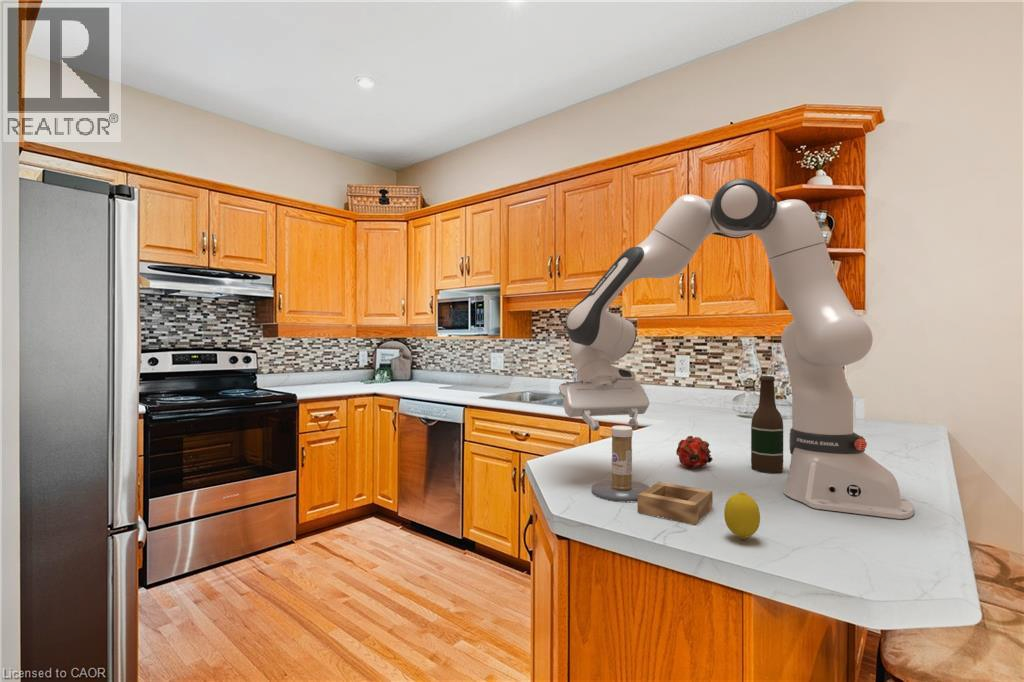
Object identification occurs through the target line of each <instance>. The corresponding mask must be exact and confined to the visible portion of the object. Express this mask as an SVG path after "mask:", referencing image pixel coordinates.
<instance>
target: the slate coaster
mask: <svg viewBox="0 0 1024 682" xmlns="http://www.w3.org/2000/svg"><path fill="white" fill-rule="evenodd" d="M611 484H612V479H606V480H600V481H597V482H595V483H593V484H591V493H592V495H593V496H595V495H596V496H595V497H596V498H599V497H600V499H602V498H603V499H602V500H605V499H608V500H607V501H610V500H613V501H612V502H617V501H625V502H624V503H631V502H630V501H638V494H639V493H641V492H643V491H644V490H646V489H648V488H649V487H650V485H648V484H645V483H642V482H638V481H633V480H632V488H631V489H629V490H617V489H614V488H612V486H611ZM627 501H629V502H627Z"/></svg>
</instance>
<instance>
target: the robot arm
mask: <svg viewBox="0 0 1024 682" xmlns="http://www.w3.org/2000/svg"><path fill="white" fill-rule="evenodd" d="M710 235H715V236H720V237H725V238H729V239H744V238H747V237H749V236H750V235H755V236H757V237H758V238H759V239H760V241H761V243H762V244H763V248H764V250H765V252H766V257H767V260H768V264H769V268H770V271H771V274H772V277H773V282H774V284H775V288H776V292H777V294H778V296H779V297H780V298H781V300H782V301H783V302H784V303H785V305H786V307H787V309H788V310H789V312H790V314H791V316H792V318H793V320H791V321H790V323H788V324H787V325H786V326H785V327H784V329H783V331H782V333H781V338H780V339H781V346H782V348H783V350H784V353H785V358H786V366H787V370H788V375H789V376H788V377H789V380H790V386H791V396H792V406H791V407H792V408H791V409H792V418H791V419H792V420H791V421H792V427H791V428H790V429H789V430H790V431H789V438H788V439H789V442H788V443H789V451H790V452H789V453H790V455H791V456H790V463H789V464H790V465H789V471H788V476H787V480H786V483H785V486H784V490H783V494H784V495H786V496H787V497H788V498H791V499H792V500H795V501H798V502H801V503H803V504H805V505H806V506H808V507H810V508H813V509H817V510H825V511H834V512H840V513H841V512H842V513H848V514H850V513H851V514H857V515H865V516H873V517H874V516H875V517H879V518H881V517H882V518H889V519H898V520H903V519H908V518H911V517H912V516H913V515H914V514H915V508H914V504H913V502H912V501H910V500H909V499H907V498H906V497H904V496H901V492H900V487H899V484H898V481H897V479H896V477H895V476H894V474H893V473H892V472H891V471H890V470H888V468H886V467H885V466H883V465H882V464H880V463H879V462H878V461H876V460H875V459H874V458H872V457H871V456H870V455H868V454H867V453H866V452H865V451H866V448H867V446H868V443H867V441H866V439H865V438H864V436H863V435H861V436H860V434H857V433H856V432H854V396H853V392H852V390H851V388H850V387H849V385H848V382H847V379H846V375H845V371H844V366H849V365H851V364H855V363H857V362H859V361H861V360H862V359H864V358H865V357H866V356H867V355H868V354H869V352H870V350H871V348H872V346H873V339H874V338H873V334H872V333H873V332H872V330H871V328H870V326H869V325H868V324H867V322H865V320H863V319H862V318H861V317H860V316H859V315H858V313H856V310H855V309H854V307H853V305H852V304H851V302H850V301H849V299H848V297H847V295H846V294H845V292H844V290H843V288H842V287H841V285H840V283H839V280H838V278H837V275H836V273H835V270H834V266H833V263H832V260H831V256H830V254H829V253H830V252H829V250H828V247H827V243H826V240H825V237H824V234H823V232H822V229H821V227H820V224H819V222H818V220H817V218H816V215H815V214H814V212H813V211H812V209H811V207H810V206H809V204H807V202H805V201H804V200H801V199H792V198H791V199H785V200H781V201H778V199H777V198H776V197H775V196H774V195H773V194H772V193H770V192H769V191H767V190H766V188H764V187H763V186H762V185H761V184H759V183H758V182H757V181H754V180H752V179H749V178H736V179H732V180H730V181H728V182H726V183H724V184H723V185H721V187H720V188H719V189H718V190H717V191H716V193H715V194H714V196H713V198H711V199H707V198H703V197H701V196H700V195H696V194H690V193H689V194H688V193H687V194H683V195H681V196H679V197H678V198H677V199H676V200H675V201H674V202H673V203H672V204H671V206H669V208H667V210H666V211H665V212H664V214H663V215H662V216H661V217H660V219H659V220H658V221H657V223H656V224H655V226H654V227H653V229H652V230H651V232H650V233H649V235H648V236H647V237H646V238H645V239H644V240H643V241H641V242H640V243H639V244H637V245H636V246H633V247H632V246H631V247H629V248H628V249H626V250H625V251H624V252H622V254H621V255H620V256H618V257H617V259H616V260H615V261H614V262H613V264H612V265H610V267H609V268H608V269H607V271H606V272H605V273H604V274H603V275H602V277H601V278H600V279H598V281H597V283H596V284H595V285H594V286H593V288H592V289H590V291H589V292H588V293H587V294H586V296H584V298H583V299H581V300H580V301H579V302H578V303H577V304H575V305H574V306H573V308H572V309H570V310H569V313H568V314H567V316H566V319H565V328H566V331H567V335H568V337H569V339H568V350H569V355H570V359H571V362H572V364H573V367H574V368H575V369H576V375H577V376H576V377H577V379H578V381H564V382H563V383H561V384H560V385H559V387H558V388H559V389H558V390H559V394H560V395H561V396H562V400H563V401H562V402H563V408H564V413H565V414H566V415H567V417H570V418H582V421H584V422H585V423H586V424H587V425H588V426H589V429H590V430H591V431H592V432H595V431H599V429H600V424H599V421H598V420H597V419H594V418H593V417H599V416H600V417H604V416H624V415H625V416H626V415H628V417H629V421H628V423H627V426H629V427H632V430H633V429H634V430H635V429H638V427H639V421H638V415H643V414H645V413H646V412H647V410H648V408H649V407H650V406H649V405H650V400H649V397H648V395H647V392H646V391H645V389H644V388H643V386H642V384H641V383H640V382H639V381H637V380H636V378H637V376H636V373H635V372H634V371H633V370H628V369H624V368H619V367H617V366H614V365H612V364H613V363H616V362H617V361H618V360H620V359H621V358H624V356H625V355H627V354H628V353H630V352H631V351H632V349H633V348H634V346H635V344H636V340H637V330H636V326H635V325H634V323H633V322H632V321H630V320H628V319H626V318H624V317H622V316H620V315H617V314H614V313H612V312H611V311H608V308H609V307H610V306H611V304H612V303H613V302H614V301H615V300H616V298H617V297H618V296H619V295H620V294H621V293H622V291H623V290H624V289H625V288H626V287H627V286H628V285H629V284H631V283H632V282H634V281H636V280H639V279H648V278H649V279H666V278H672V277H674V276H676V275H679V274H680V273H681V272H682V271H683V270H684V269H685V268H686V267H687V266H688V265H689V263H690V262H691V260H692V258H693V257H694V256H695V254H696V253H697V252H698V249H699V248H700V246H701V245H702V244H703V242H704V241H705V240H706V238H708V237H709V236H710Z"/></svg>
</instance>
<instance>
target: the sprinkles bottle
mask: <svg viewBox="0 0 1024 682" xmlns="http://www.w3.org/2000/svg"><path fill="white" fill-rule="evenodd" d="M610 429H611V430H610V435H611V439H612V440H611V480H612V484H611V486H612V488H614V489H617V490H629V489H631V488H632V481H633V480H632V479H633V478H632V474H633V449H632V447H633V446H632V445H633V444H632V442H633V440H632V439H633V429H632V427H630V426H629V425H613V426H611V428H610Z"/></svg>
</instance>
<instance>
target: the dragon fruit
mask: <svg viewBox="0 0 1024 682" xmlns="http://www.w3.org/2000/svg"><path fill="white" fill-rule="evenodd" d="M709 447H710V443H709V442H708V441H706V440H703V439H702V438H701V437H699V436H698V437H697V436H695V437H694V435H688V436H687V437H686V438H685V439H681V440H680V441H679V442H678V444H677V449H676V450H675V451H676V456H678V461H679V463H680V464H683V466H684V467H685V468H686V469H687V470H692V469H694V468H695V467H698V468H701V469H702V468H704V467H705V466H706V465H707V464H709V463H711V462H712V461H713V458H712V455H711V454H710V453H711V452H712V451H711V450H710V448H709Z"/></svg>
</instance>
